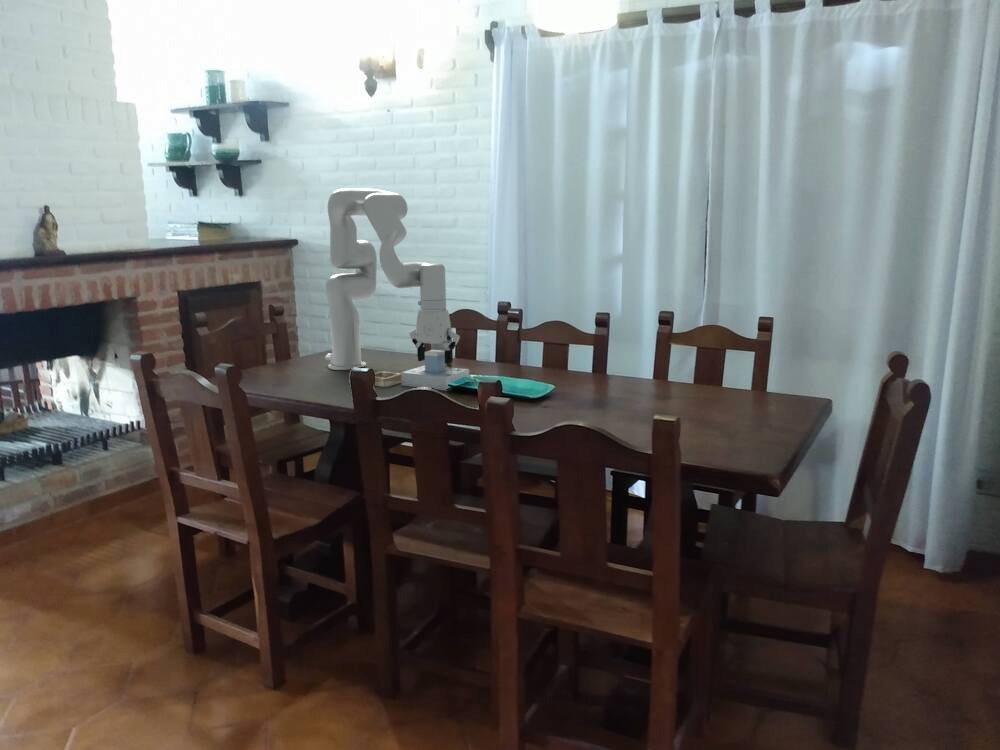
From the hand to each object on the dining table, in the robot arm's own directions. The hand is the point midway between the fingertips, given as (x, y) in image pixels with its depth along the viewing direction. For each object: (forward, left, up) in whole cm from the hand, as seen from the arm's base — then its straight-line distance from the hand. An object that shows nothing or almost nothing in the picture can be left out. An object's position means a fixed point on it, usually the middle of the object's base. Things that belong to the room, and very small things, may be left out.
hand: (435, 361), depth 231 cm
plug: (0, 0, -6) cm, 6 cm away
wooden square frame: (-15, -6, -7) cm, 18 cm away
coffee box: (-8, +16, -7) cm, 19 cm away
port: (0, 0, -7) cm, 7 cm away
